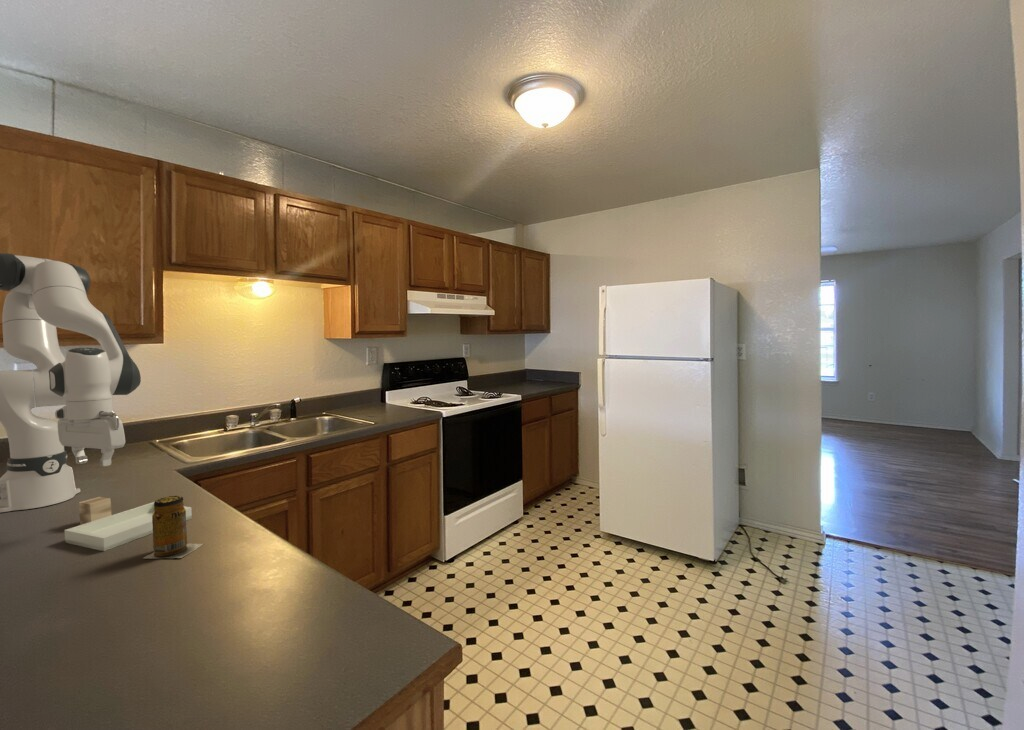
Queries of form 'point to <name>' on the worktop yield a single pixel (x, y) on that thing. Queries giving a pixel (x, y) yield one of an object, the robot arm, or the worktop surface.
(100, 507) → the birch block
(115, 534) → the shallow rimmed tray
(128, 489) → the worktop surface
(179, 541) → the condiment
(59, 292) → the robot arm
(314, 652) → the worktop surface
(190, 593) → the worktop surface
